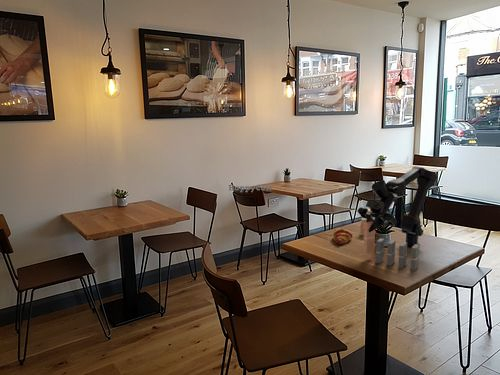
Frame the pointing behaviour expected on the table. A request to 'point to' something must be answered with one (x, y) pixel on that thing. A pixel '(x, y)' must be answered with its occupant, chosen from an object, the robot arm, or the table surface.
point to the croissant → (342, 235)
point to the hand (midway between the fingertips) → (367, 231)
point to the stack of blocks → (363, 224)
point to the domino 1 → (368, 238)
